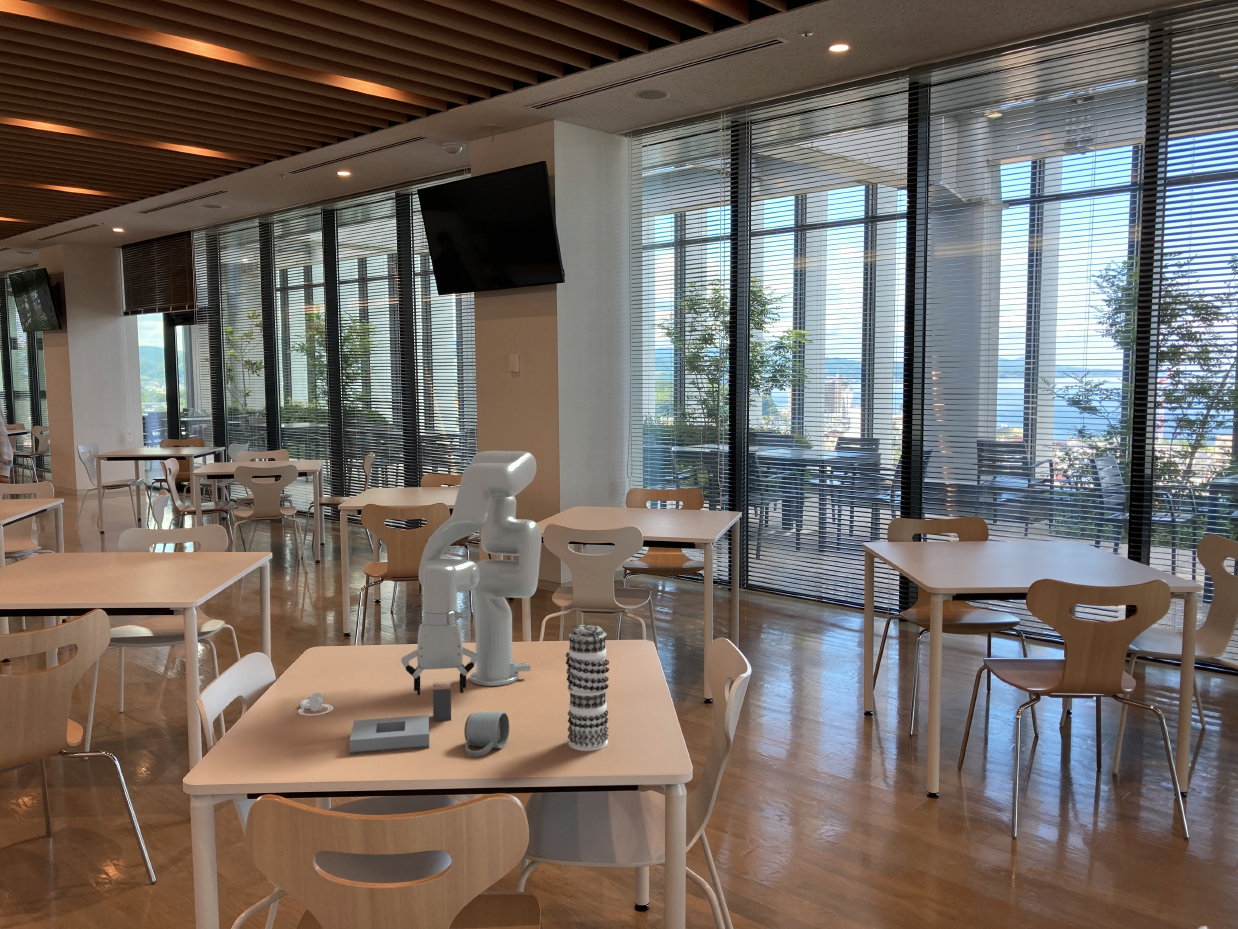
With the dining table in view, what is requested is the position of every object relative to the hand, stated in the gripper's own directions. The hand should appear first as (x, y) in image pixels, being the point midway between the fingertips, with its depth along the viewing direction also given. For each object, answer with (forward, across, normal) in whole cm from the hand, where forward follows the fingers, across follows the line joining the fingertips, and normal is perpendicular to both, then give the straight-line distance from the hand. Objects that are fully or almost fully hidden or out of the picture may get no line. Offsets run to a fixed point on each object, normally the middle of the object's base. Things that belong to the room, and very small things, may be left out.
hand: (440, 692), depth 206 cm
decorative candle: (+7, -30, +22) cm, 38 cm away
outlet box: (+7, +11, +11) cm, 17 cm away
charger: (+6, 0, -1) cm, 6 cm away
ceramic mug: (+7, -9, +20) cm, 23 cm away
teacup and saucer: (+7, +28, -16) cm, 33 cm away
